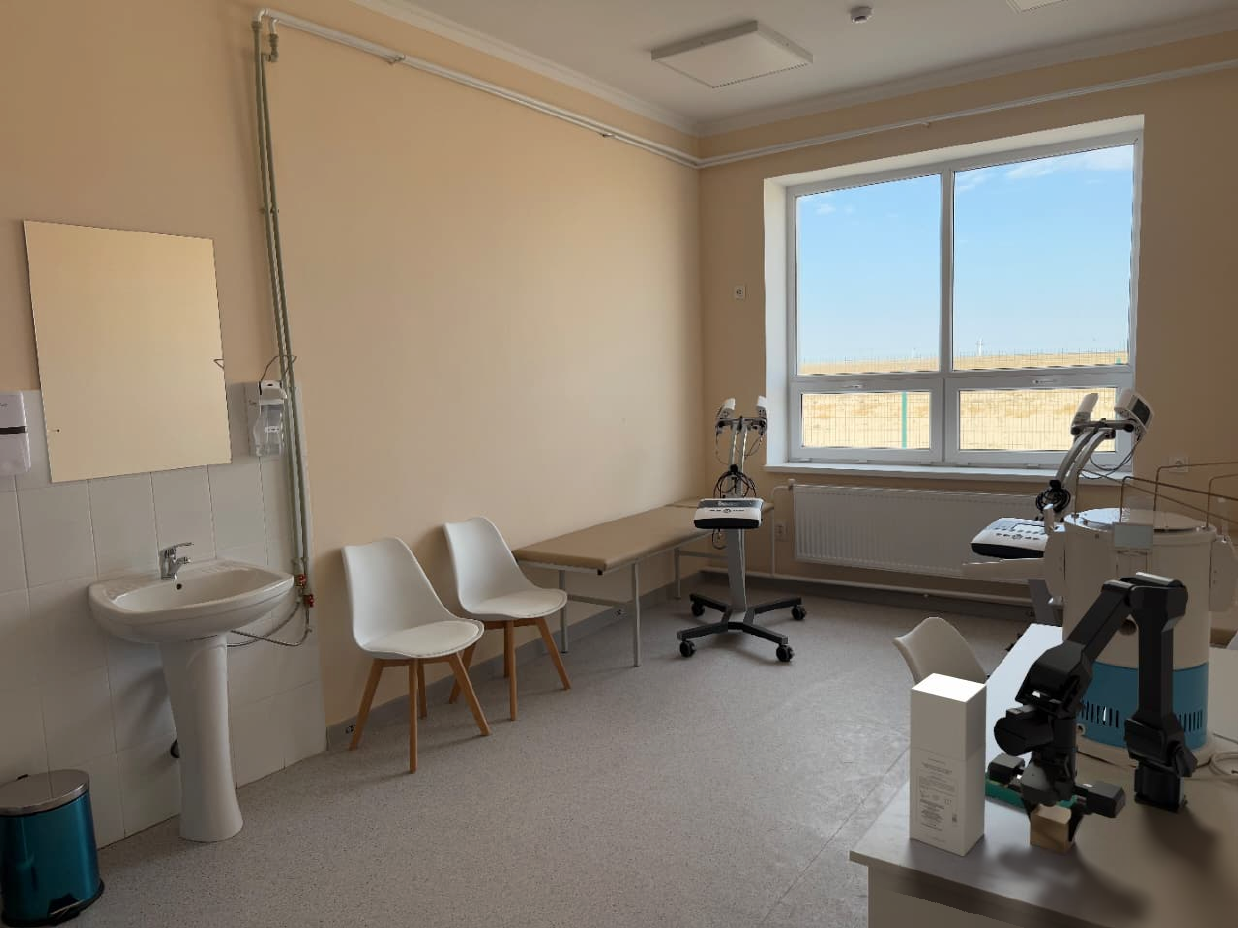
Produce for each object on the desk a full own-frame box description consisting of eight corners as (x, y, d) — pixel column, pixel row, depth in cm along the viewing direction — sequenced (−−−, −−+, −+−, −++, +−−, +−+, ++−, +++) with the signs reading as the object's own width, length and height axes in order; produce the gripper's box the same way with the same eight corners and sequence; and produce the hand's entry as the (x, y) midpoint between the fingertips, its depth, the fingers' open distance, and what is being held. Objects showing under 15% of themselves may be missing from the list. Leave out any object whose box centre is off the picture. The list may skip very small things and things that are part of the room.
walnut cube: (1074, 840, 136) (1075, 811, 135) (1063, 854, 132) (1064, 824, 131) (1041, 829, 139) (1042, 800, 138) (1029, 842, 136) (1030, 812, 135)
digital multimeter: (1061, 825, 141) (1062, 808, 140) (973, 793, 152) (974, 777, 152) (1079, 809, 146) (1080, 792, 145) (992, 778, 157) (993, 763, 156)
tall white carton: (984, 833, 139) (987, 684, 136) (963, 857, 132) (966, 702, 129) (931, 814, 145) (932, 672, 142) (908, 837, 138) (909, 688, 135)
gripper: (973, 740, 134) (972, 833, 136) (1105, 778, 121) (1101, 881, 123) (1001, 717, 142) (1000, 806, 144) (1128, 751, 129) (1124, 848, 131)
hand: (1052, 834), depth 135 cm, fingers closed on walnut cube, 5 cm apart
